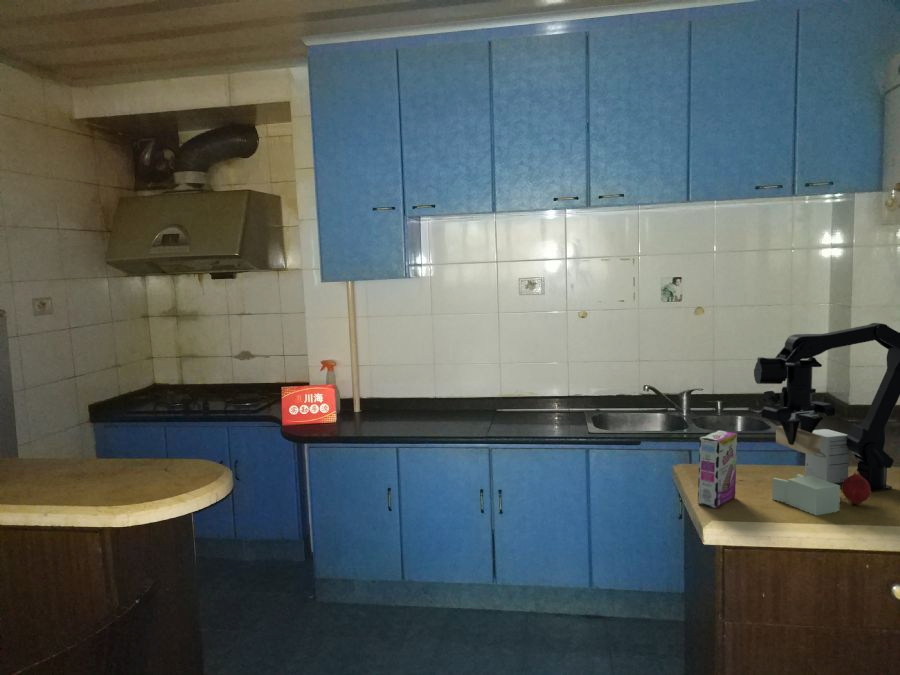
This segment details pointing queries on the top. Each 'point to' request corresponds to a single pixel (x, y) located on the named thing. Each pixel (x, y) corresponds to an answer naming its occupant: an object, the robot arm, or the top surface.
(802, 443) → the oak slat
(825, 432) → the supplement box
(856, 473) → the onion
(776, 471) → the top surface
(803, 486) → the forked bracket
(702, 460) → the candy bar box
